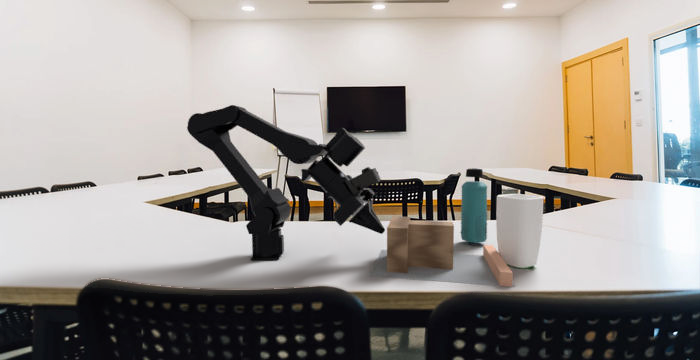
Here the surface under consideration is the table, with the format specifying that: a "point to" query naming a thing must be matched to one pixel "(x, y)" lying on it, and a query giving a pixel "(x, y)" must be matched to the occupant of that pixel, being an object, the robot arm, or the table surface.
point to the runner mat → (456, 269)
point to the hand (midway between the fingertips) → (383, 232)
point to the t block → (419, 244)
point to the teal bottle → (474, 208)
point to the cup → (519, 228)
